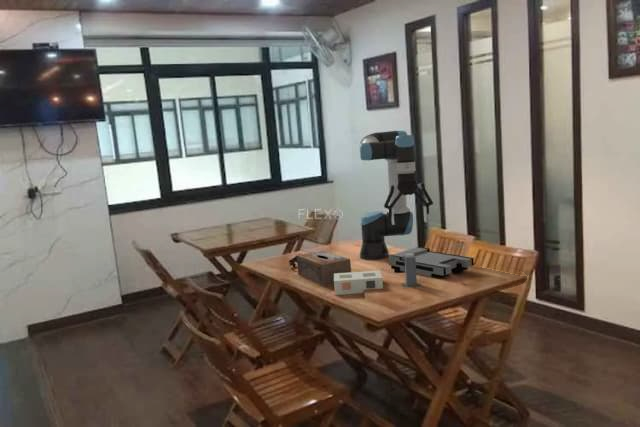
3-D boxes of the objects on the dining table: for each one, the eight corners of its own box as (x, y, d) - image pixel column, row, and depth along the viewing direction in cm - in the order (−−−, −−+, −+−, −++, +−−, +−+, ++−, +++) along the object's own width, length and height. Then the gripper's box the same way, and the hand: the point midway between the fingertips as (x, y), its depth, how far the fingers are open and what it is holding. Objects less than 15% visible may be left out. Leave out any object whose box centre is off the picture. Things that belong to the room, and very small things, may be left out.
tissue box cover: (351, 280, 251) (350, 259, 250) (323, 286, 245) (321, 264, 243) (324, 269, 274) (323, 250, 273) (298, 275, 268) (296, 255, 266)
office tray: (444, 284, 235) (443, 265, 234) (389, 272, 260) (388, 255, 259) (474, 273, 248) (473, 255, 246) (419, 263, 273) (418, 246, 271)
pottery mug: (302, 272, 274) (293, 258, 274) (292, 277, 281) (283, 264, 281) (317, 260, 282) (308, 247, 282) (308, 266, 289) (299, 253, 289)
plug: (405, 283, 233) (404, 253, 231) (415, 283, 233) (413, 252, 231) (407, 286, 229) (405, 255, 227) (416, 285, 229) (415, 255, 227)
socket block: (334, 286, 242) (333, 273, 242) (380, 283, 242) (379, 270, 241) (334, 295, 230) (333, 281, 229) (383, 291, 230) (382, 277, 229)
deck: (400, 286, 235) (400, 282, 235) (419, 284, 235) (419, 281, 235) (403, 291, 228) (402, 288, 227) (422, 290, 227) (422, 286, 227)
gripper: (377, 175, 227) (380, 226, 230) (438, 170, 226) (441, 222, 229) (375, 174, 235) (378, 224, 237) (435, 169, 234) (437, 219, 236)
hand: (409, 223), depth 233 cm, fingers open, 13 cm apart
